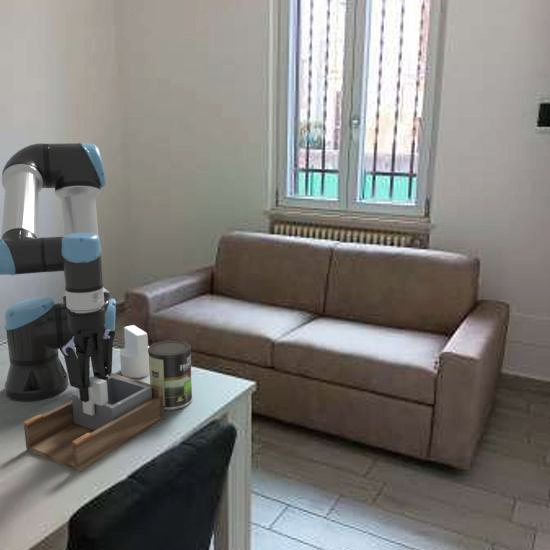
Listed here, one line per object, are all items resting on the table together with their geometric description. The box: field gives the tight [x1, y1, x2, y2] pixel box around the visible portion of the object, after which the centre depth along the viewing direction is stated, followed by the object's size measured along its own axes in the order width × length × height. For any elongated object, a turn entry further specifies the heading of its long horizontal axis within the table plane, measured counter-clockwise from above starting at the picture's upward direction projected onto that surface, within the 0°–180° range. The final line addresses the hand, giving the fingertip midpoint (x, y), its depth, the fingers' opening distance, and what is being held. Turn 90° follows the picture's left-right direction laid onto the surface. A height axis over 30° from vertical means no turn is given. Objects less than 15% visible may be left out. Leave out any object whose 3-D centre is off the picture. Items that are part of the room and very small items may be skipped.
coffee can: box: [148, 340, 193, 411], centre depth 145 cm, size 10×10×14 cm
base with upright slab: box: [119, 324, 151, 379], centre depth 162 cm, size 9×9×12 cm
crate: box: [71, 375, 152, 431], centre depth 132 cm, size 13×12×12 cm
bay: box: [23, 372, 165, 473], centre depth 129 cm, size 16×25×8 cm, turn 149°
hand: (94, 410), depth 128 cm, fingers closed on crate, 2 cm apart
